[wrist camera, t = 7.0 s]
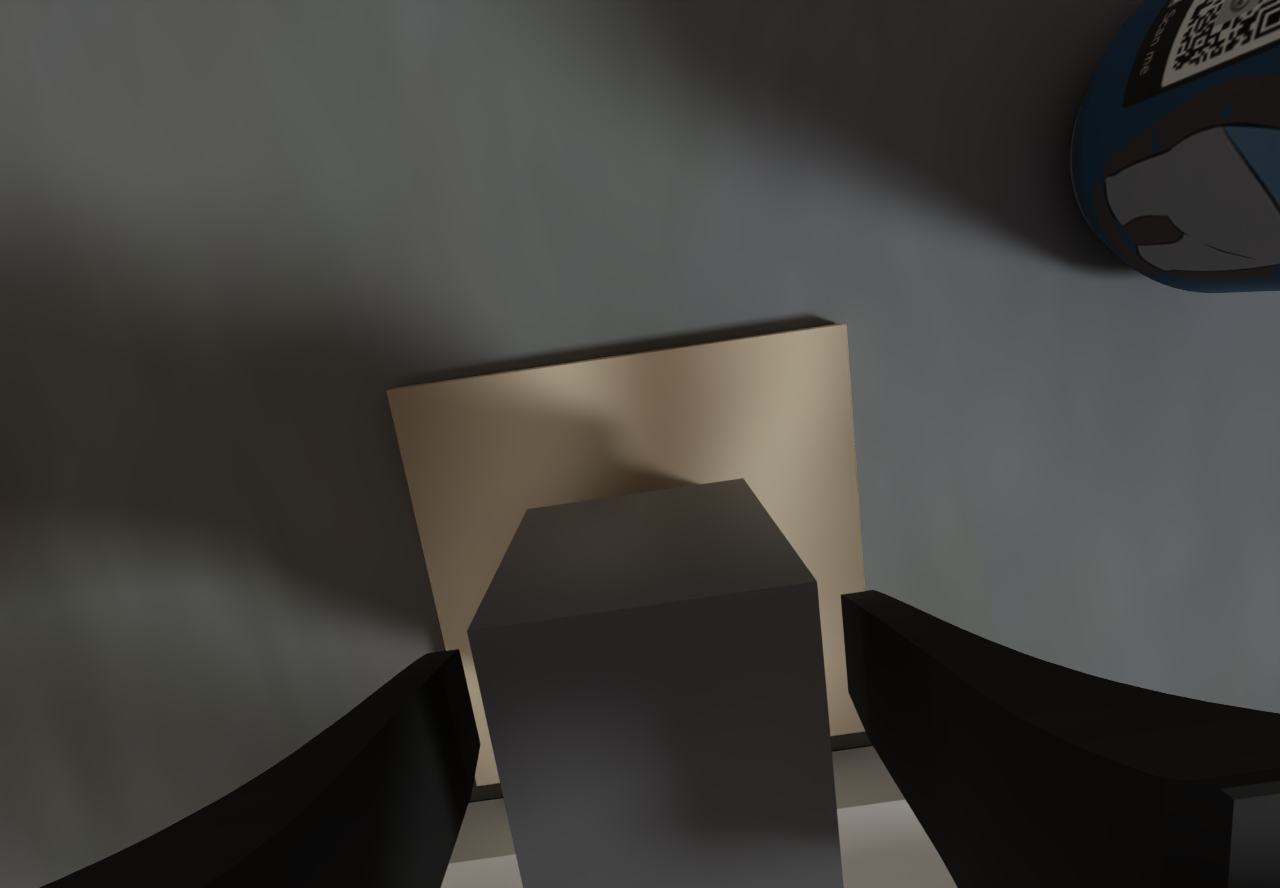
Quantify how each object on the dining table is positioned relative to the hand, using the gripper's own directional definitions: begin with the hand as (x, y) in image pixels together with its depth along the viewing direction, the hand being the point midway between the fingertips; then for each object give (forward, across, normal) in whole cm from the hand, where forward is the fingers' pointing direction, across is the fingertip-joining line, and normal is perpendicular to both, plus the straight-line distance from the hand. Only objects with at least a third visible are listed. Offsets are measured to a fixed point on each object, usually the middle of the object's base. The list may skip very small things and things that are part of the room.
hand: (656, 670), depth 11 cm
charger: (+4, 0, 0) cm, 4 cm away
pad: (+5, 0, 0) cm, 5 cm away
